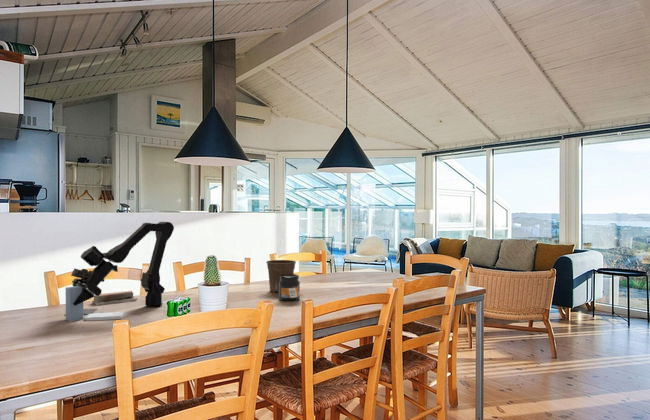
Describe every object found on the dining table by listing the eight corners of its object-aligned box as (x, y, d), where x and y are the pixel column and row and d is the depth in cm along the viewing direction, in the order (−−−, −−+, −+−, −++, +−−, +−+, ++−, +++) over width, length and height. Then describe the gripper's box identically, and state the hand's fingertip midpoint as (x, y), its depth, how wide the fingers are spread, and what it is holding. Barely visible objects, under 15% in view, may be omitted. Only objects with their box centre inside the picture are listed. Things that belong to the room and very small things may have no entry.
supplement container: (295, 302, 214) (295, 277, 214) (275, 300, 217) (275, 276, 217) (302, 298, 224) (303, 274, 224) (283, 296, 227) (283, 273, 227)
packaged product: (97, 296, 206) (92, 293, 213) (97, 306, 206) (92, 303, 214) (137, 291, 217) (131, 288, 225) (137, 301, 217) (131, 298, 225)
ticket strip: (125, 314, 188) (125, 311, 188) (121, 318, 182) (121, 315, 182) (89, 316, 185) (89, 313, 185) (83, 320, 179) (83, 317, 179)
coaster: (96, 309, 198) (96, 308, 198) (90, 314, 189) (90, 313, 189) (72, 310, 196) (72, 309, 196) (64, 315, 186) (64, 314, 186)
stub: (79, 317, 184) (79, 285, 184) (83, 319, 181) (83, 287, 181) (65, 319, 181) (65, 287, 181) (69, 321, 177) (69, 288, 177)
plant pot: (284, 286, 255) (284, 258, 255) (301, 291, 243) (301, 261, 243) (260, 290, 245) (260, 261, 245) (277, 294, 232) (277, 263, 232)
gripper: (77, 259, 190) (47, 288, 182) (93, 263, 177) (62, 294, 169) (96, 275, 196) (68, 304, 188) (113, 280, 183) (84, 311, 175)
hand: (70, 303), depth 180 cm, fingers open, 7 cm apart
